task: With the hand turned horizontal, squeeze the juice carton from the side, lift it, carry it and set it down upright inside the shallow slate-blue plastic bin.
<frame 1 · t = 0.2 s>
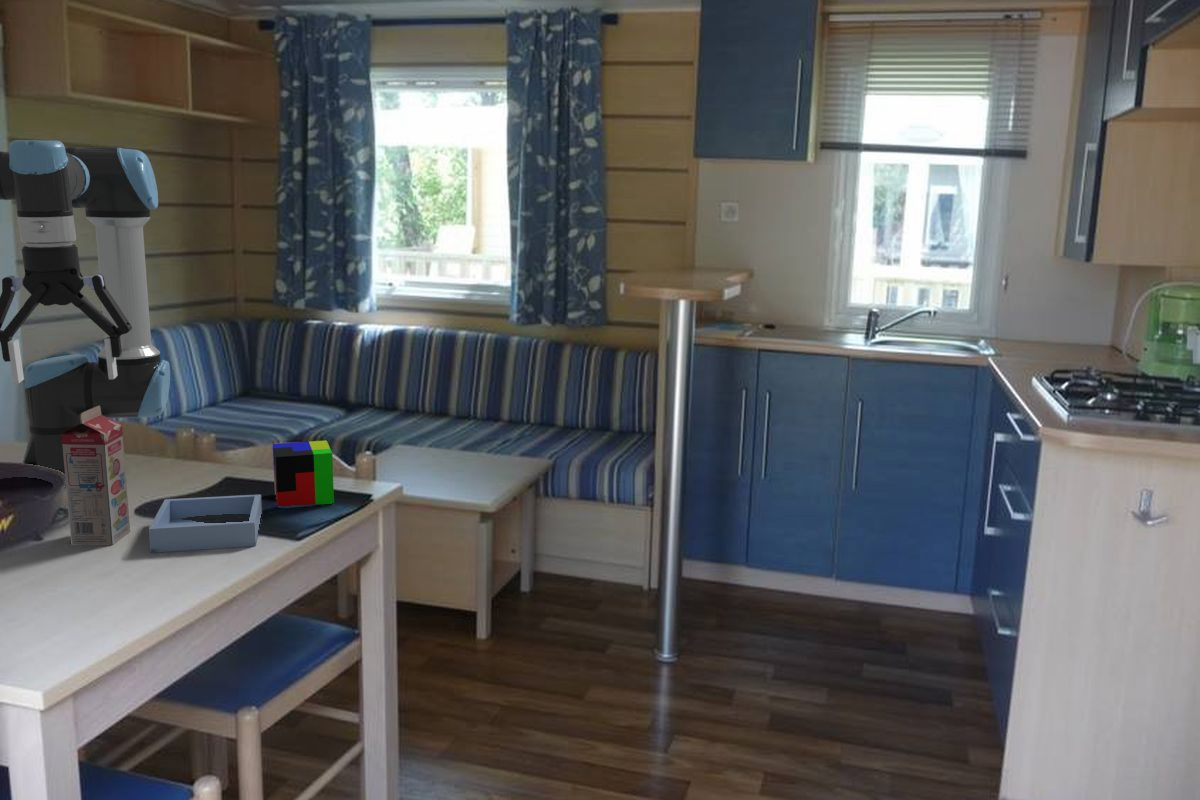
hand: (66, 379, 157), 27 cm above the table, tool pointing down, fingers open, 13 cm apart
puzzle toy: (304, 500, 189), on the table
juice carton: (101, 539, 166), on the table
bin: (209, 533, 169), on the table
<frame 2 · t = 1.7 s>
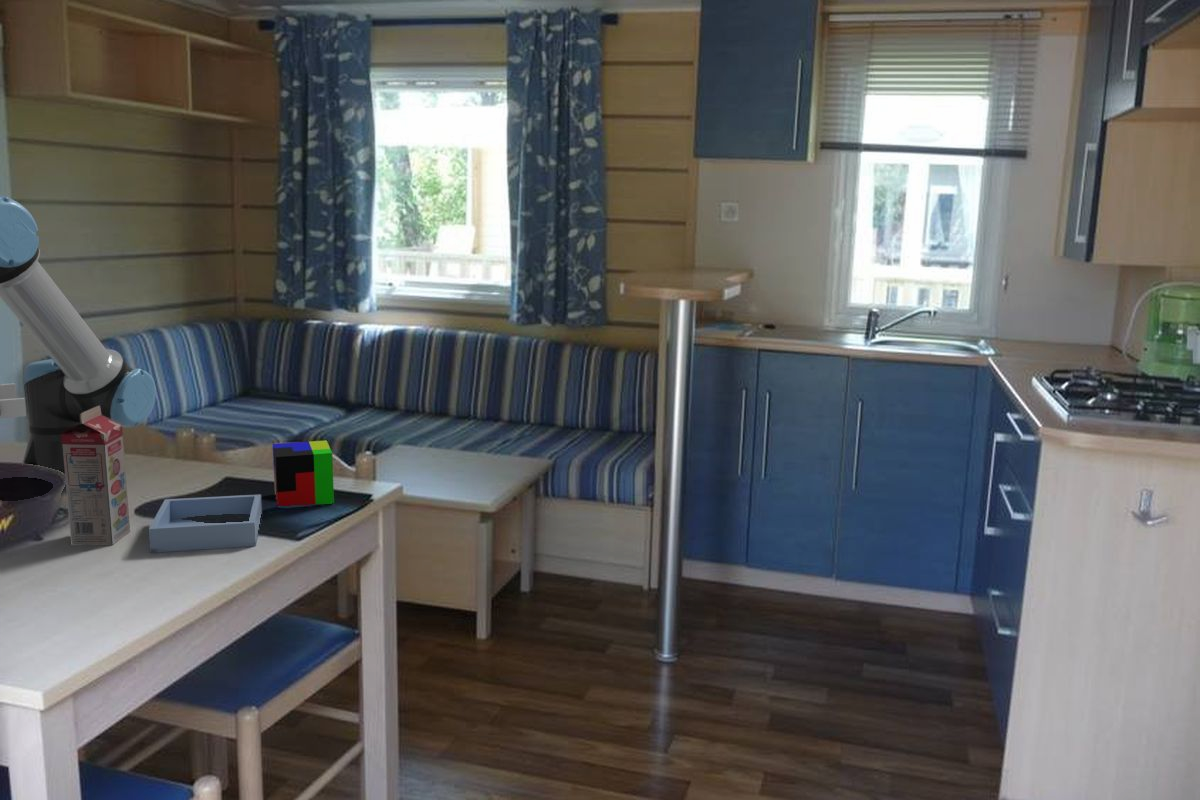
hand: (21, 399, 155), 25 cm above the table, tool horizontal, fingers open, 13 cm apart
nothing on the table moved.
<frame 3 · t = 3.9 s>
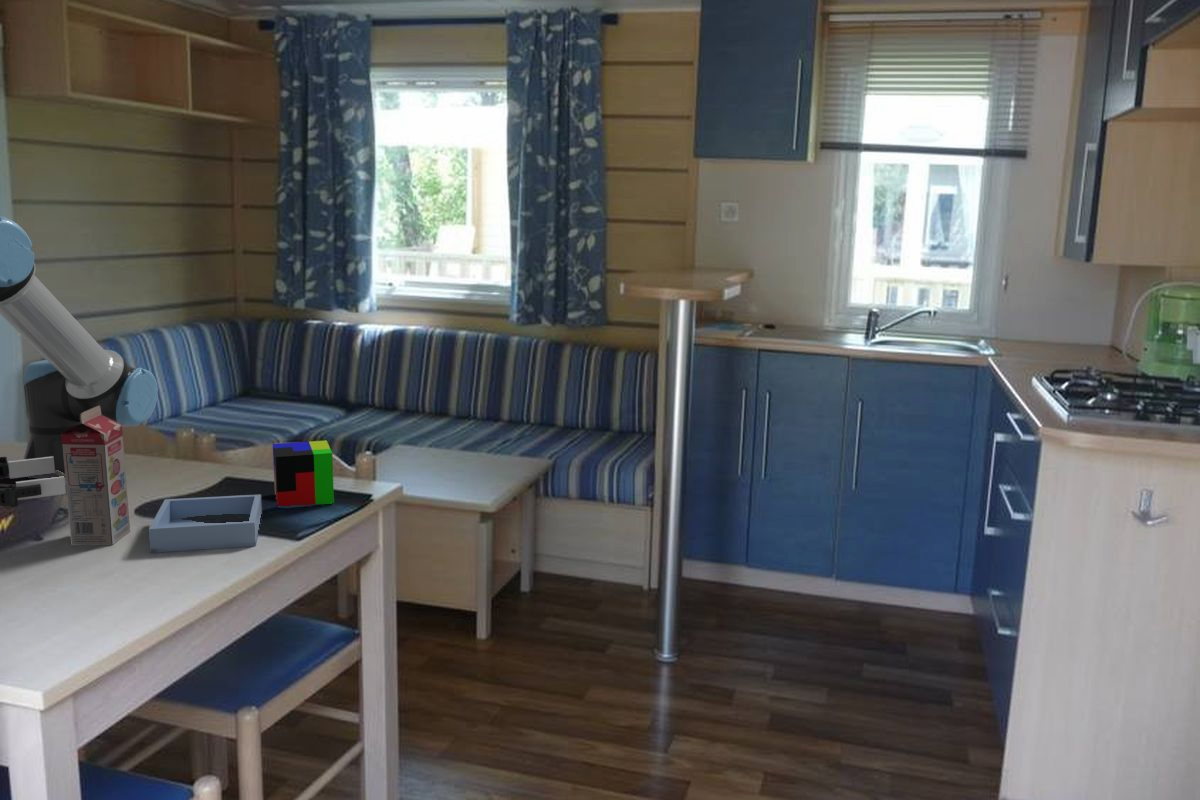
hand: (59, 474, 160), 12 cm above the table, tool horizontal, fingers open, 13 cm apart
nothing on the table moved.
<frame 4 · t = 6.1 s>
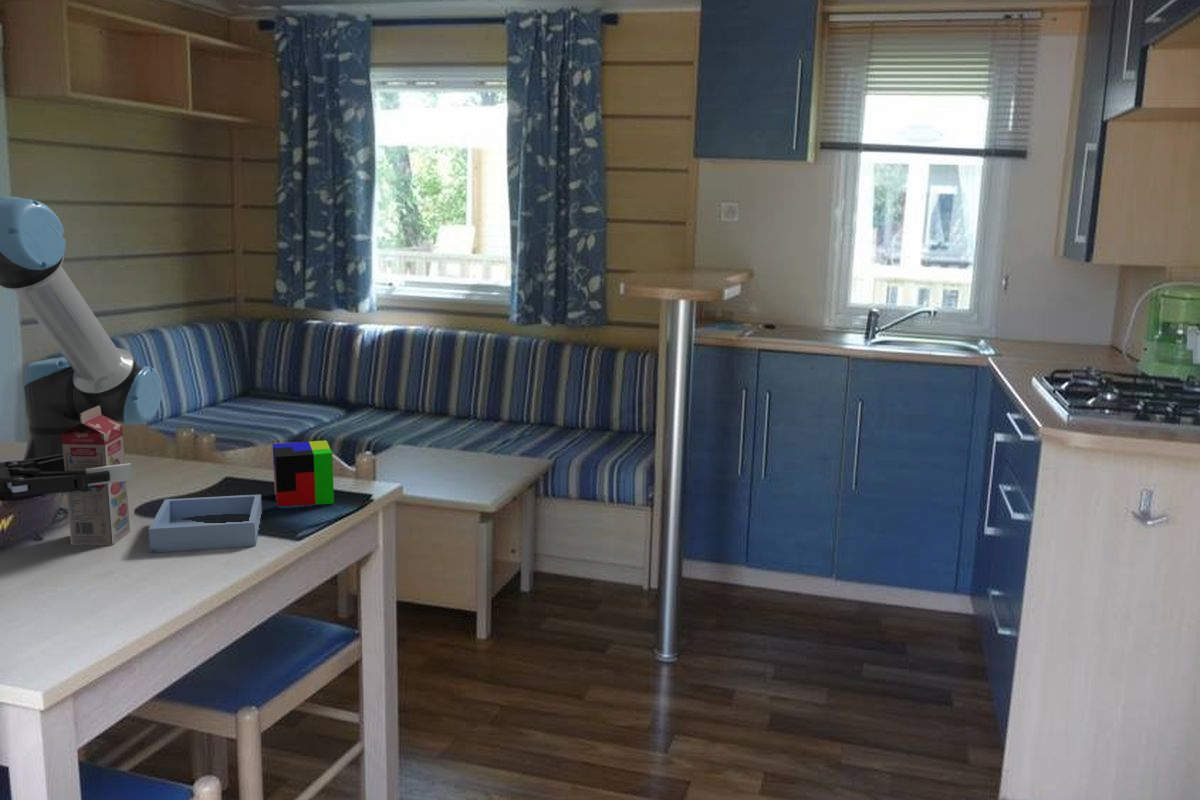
hand: (125, 464, 166), 12 cm above the table, tool horizontal, fingers closed on juice carton, 9 cm apart
juice carton: (101, 539, 166), on the table, touching gripper
everything else where it was.
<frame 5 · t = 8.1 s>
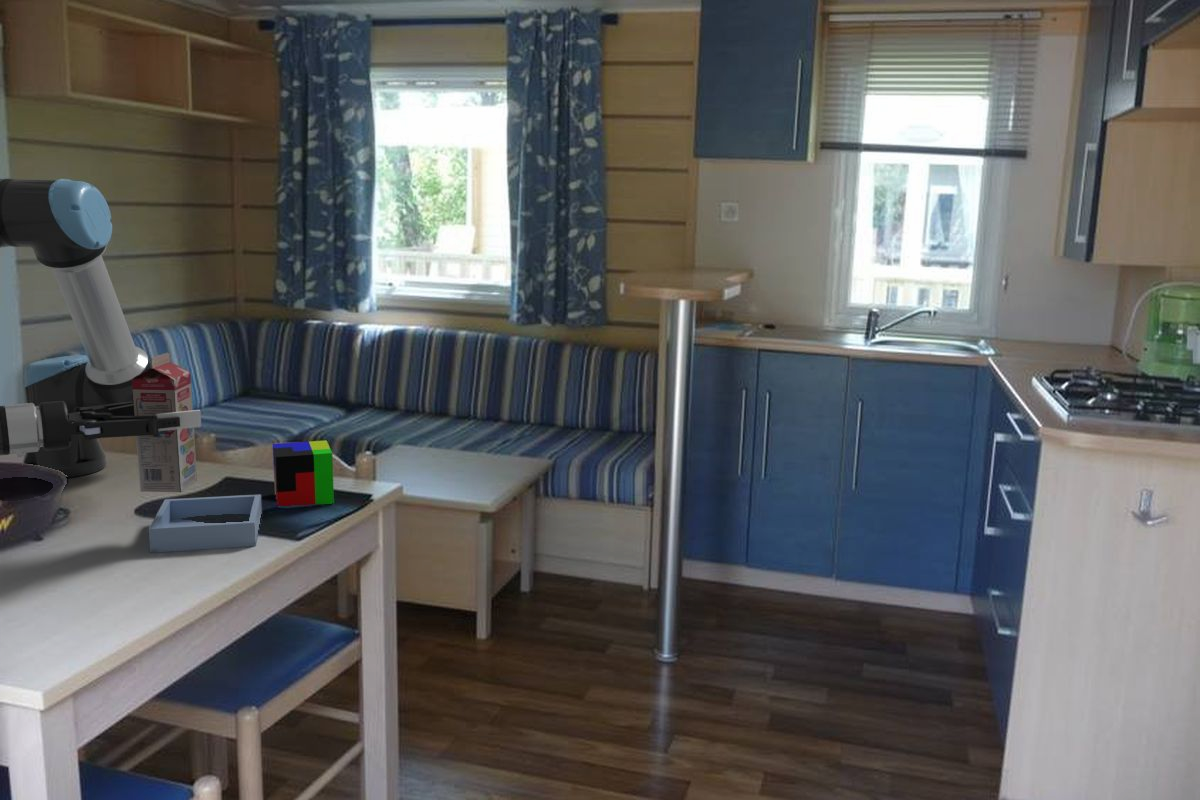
hand: (193, 412, 165), 21 cm above the table, tool horizontal, fingers closed on juice carton, 9 cm apart
juice carton: (169, 487, 165), point 9 cm above the table, touching gripper
everything else where it was.
when the fingers open (13 cm above the table, at t = 10.4 s): juice carton stays where it is, resting on bin.
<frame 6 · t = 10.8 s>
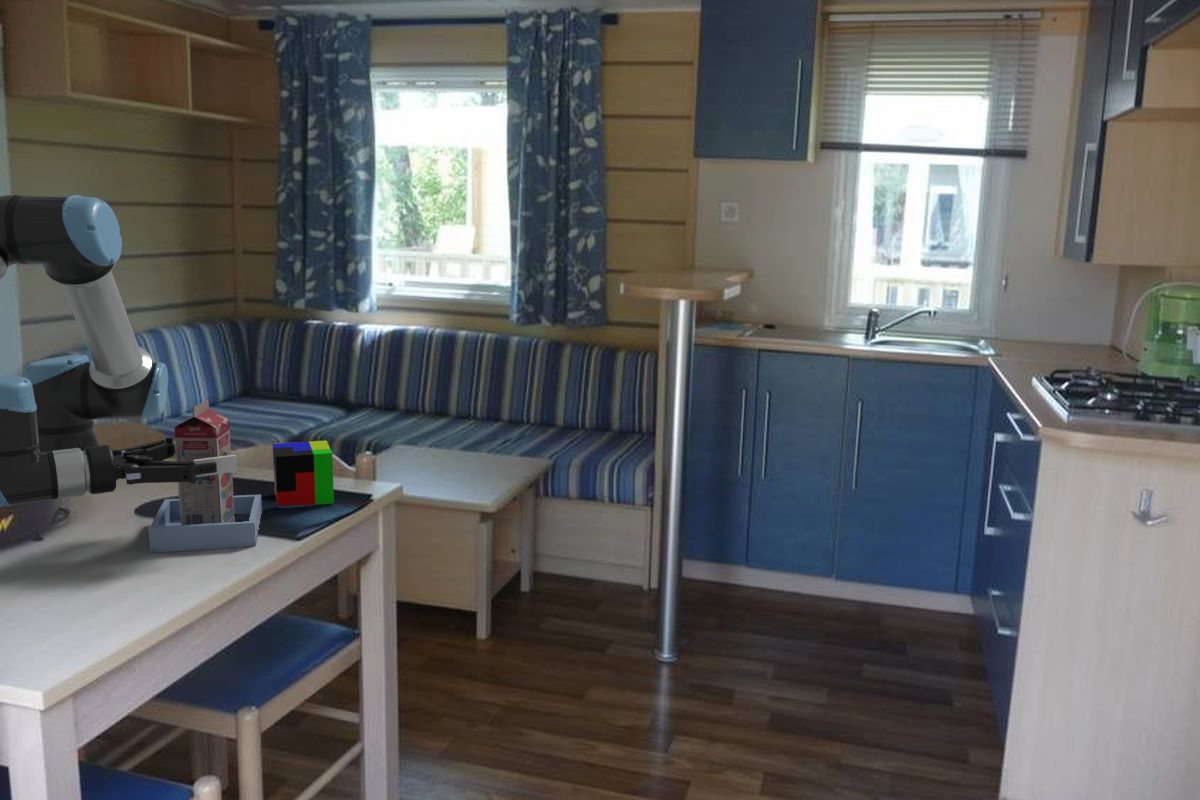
hand: (225, 453, 168), 13 cm above the table, tool horizontal, fingers open, 13 cm apart
juice carton: (208, 531, 169), resting on bin
everything else where it was.
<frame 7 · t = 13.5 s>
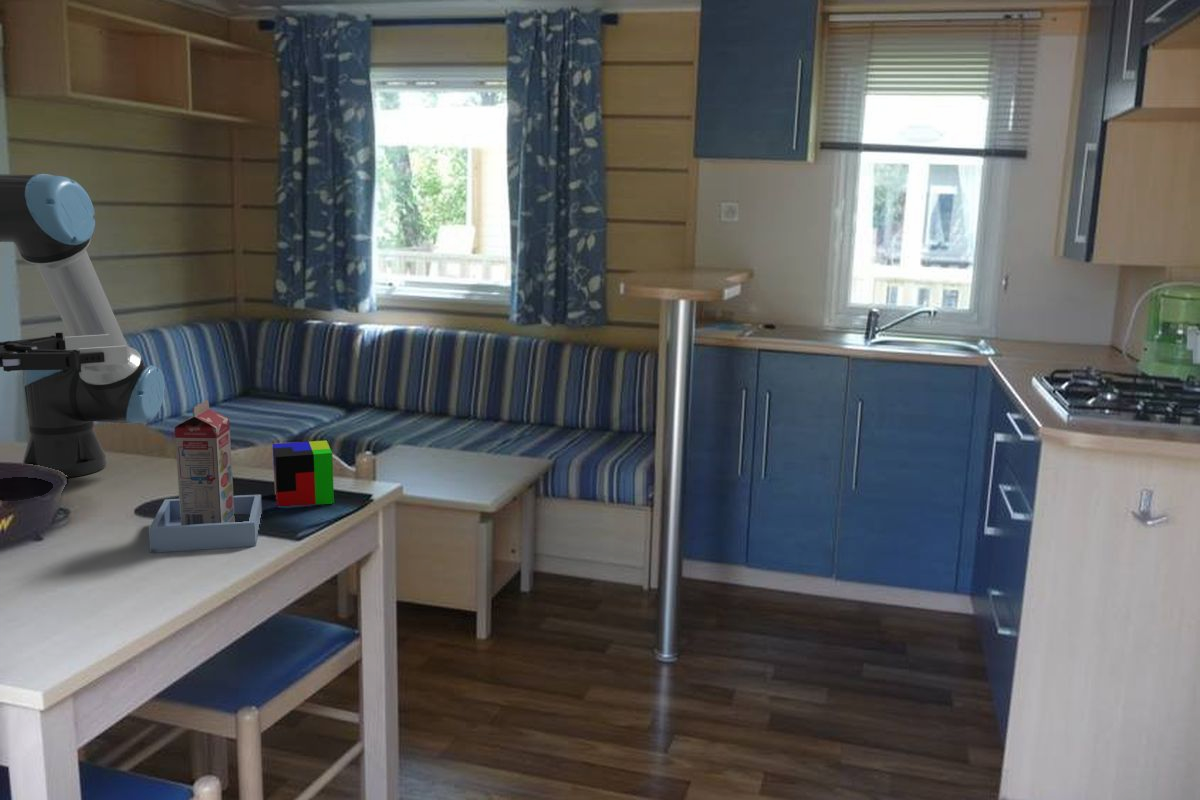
hand: (118, 348, 158), 32 cm above the table, tool horizontal, fingers open, 13 cm apart
nothing on the table moved.
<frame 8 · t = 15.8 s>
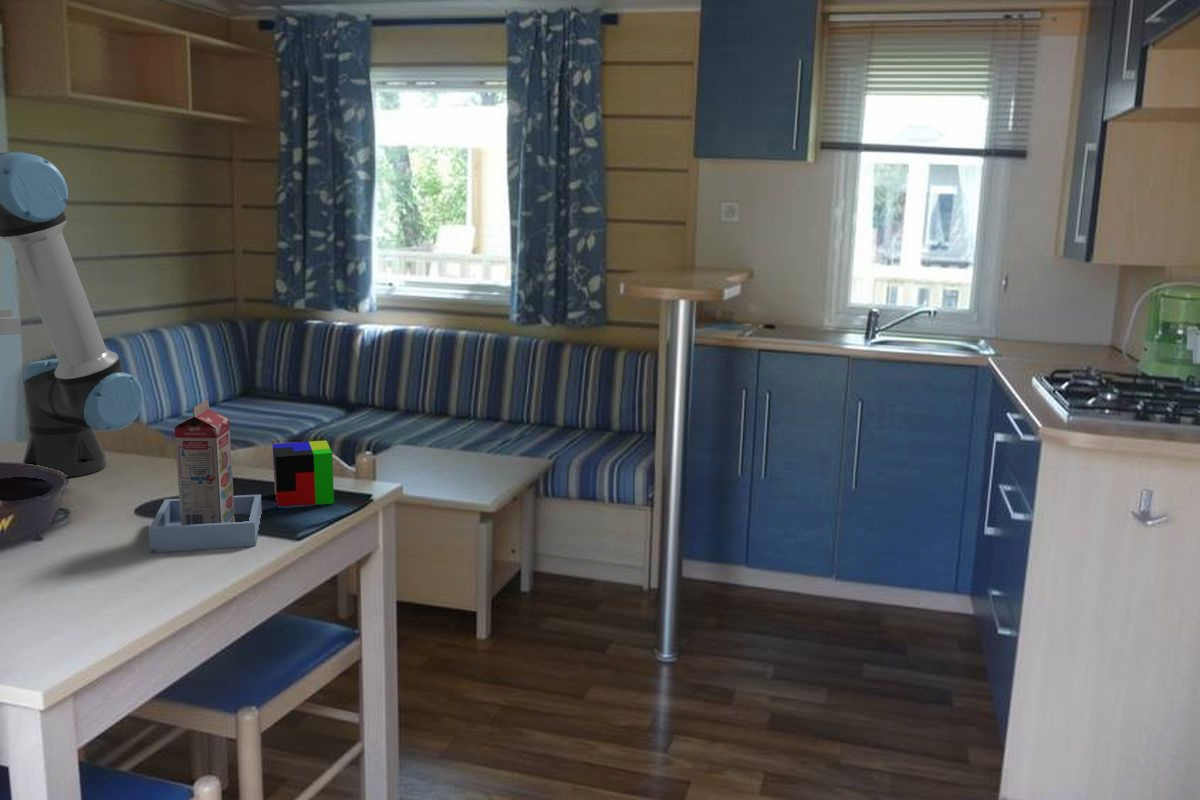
hand: (16, 320, 167), 35 cm above the table, tool horizontal, fingers open, 13 cm apart
nothing on the table moved.
at the end: juice carton inside the target area on the bin (0.1 cm from its centre), point 0.4 cm above the bin's base; juice carton tilted 0°; the gripper is holding nothing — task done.
